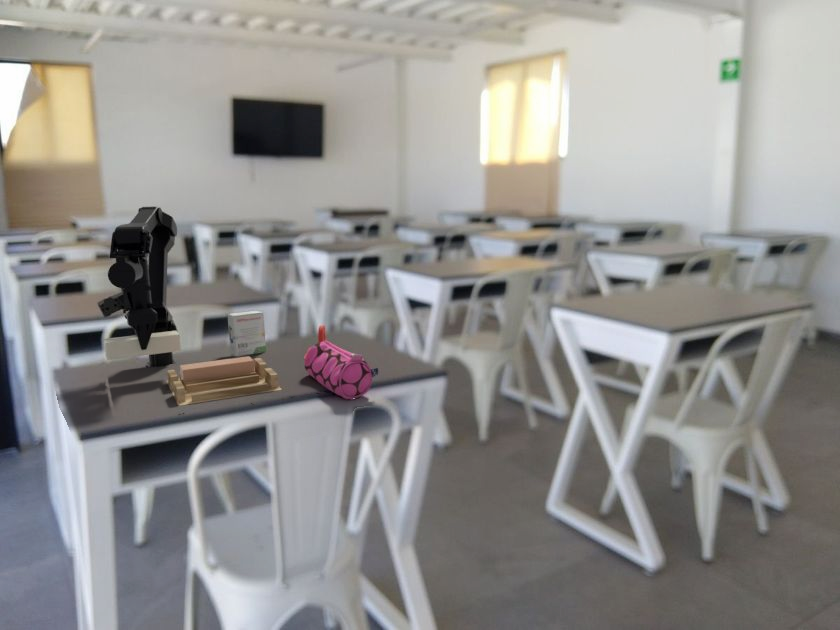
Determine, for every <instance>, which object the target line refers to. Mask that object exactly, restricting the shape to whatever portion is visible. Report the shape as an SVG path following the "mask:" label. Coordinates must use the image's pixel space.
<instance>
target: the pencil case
mask: <svg viewBox="0 0 840 630" xmlns="http://www.w3.org/2000/svg"><path fill="white" fill-rule="evenodd" d="M309 348H310V347H309ZM309 348H308V350H309V351H308V350H307V351H308V353H307V352H306V353H307V355H306V354H305V355H306V358H305V360H304V363H303V365H304V369H305V371H306V373H308V375H310V377H312V378H314V379H315V380H316V381H317V383H319V384H321V386H323V387H325V388H326V389H327V390H329V391H331V392H332V393H334V394H336V395H337V396H340V397H342V398H343V399H345V400H348V399H353V398H357V399H359V398H360V397H362V396H364V395H365V394H366V393H368V391H369V390H370V388H371V385H372V381H373V378H375V377H376V376H377V375H379V368H378V367H375V368H371V366H370V365H369V364H368V362H367V361H366V360H365V359H364V358H363V357H364V355H363V354H356V353H353V352H351V351H348V350H346V349H344V348H341V347H339V346H336V345H335V344H333V343H331V342H330V341H328V340H327V339H326V340H325V341H323V342H320V343H315V344H314V345H313V346H311V348H310V349H309ZM358 397H359V398H358ZM353 400H354V399H353Z"/></svg>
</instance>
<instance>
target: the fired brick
mask: <svg viewBox="0 0 840 630" xmlns="http://www.w3.org/2000/svg"><path fill="white" fill-rule="evenodd" d="M254 369H255V366H254V359H253V358H252V357H251V356H250V355H246V356H239V357H233V358H225V359H218V360H217V359H216V360H209V361H204V362H203V361H202V362H195V363H188V364H180V365H179V371H180V372H179V374H181V382H182V384H183V386H184V387H185V384H184V382H187V381H194V380H201V379H208V378H215V377H223V376H230V375H237V374H244V373H251V372H254Z"/></svg>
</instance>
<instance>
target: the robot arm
mask: <svg viewBox="0 0 840 630" xmlns="http://www.w3.org/2000/svg"><path fill="white" fill-rule="evenodd" d="M137 211H138V212H137V214H136V215H135V216H134V217H133V219H131V221H130V222H129V223H124V224H119V225H117V227H115V228H114V231H112V234H111V243H110V250H109V251H110V252H109V259H115V262H114V263H113V264H111V266H110V267H109V269H108V271H107V277H108V280H109V282H110V284H112V285H113V286H114V287H116V288H119V289H121V292H118V293H116V294H113V295H109V296H108V297H106V298H103V299H101V300H99V301H97V303H96V304H97V306H98V308H99V310H100V311H101V314H102V315H103V317H104V318H108V317H111V315H112V314H115V313H117V312H119V311H121V312H122V314H125V315H124V318H125V319H126V323H127V325H128V326H130V327H131V328H133V330H134V334H135V335H137V337H138V341H139V344H140V347H141V350H146V349H147V346H148V343H149V340H150V337H151V334H152V333H160V332H168V331H177V332H178V333H179V331H178V328H177V325H176V323H175V322H174V319H173V315H172V313H171V312H170V310H169V309H168V307H167V293H168V292H167V290H168V287H167V286H168V259H169V258H168V254H169V253H170V251H171V249H172V248H173V247H174V246H175V239H176V237H177V235H178V227H177V223H176V221H175V220H174V218H173V216H171V215H170V214H168V213H166V212H165V211H163V209H162V207H161V206H160V207H158V206H142V207H139V208H138V210H137ZM148 359H149V361H148V362H146V364H147V365H146V366H147V367H148V368H151V367H158V368H159V367H163V366H165V367H166V366H169V365H174V364H177V363H176V361H175V360H174V356H173V352H167V353H159V354H152V355H148Z"/></svg>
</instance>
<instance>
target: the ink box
mask: <svg viewBox="0 0 840 630" xmlns="http://www.w3.org/2000/svg"><path fill="white" fill-rule="evenodd" d="M227 325H228V338H229V339H228V340H229V341H228V342H229V354H230V355H229V356H230V357H235V358H238V357H245V356H250V355H253V354H260V353H266V352H267V346H266V344H267V342H266V330H265V315H264V312H262V311H259V310H252V311H243V312H233V313H228V314H227Z"/></svg>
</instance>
